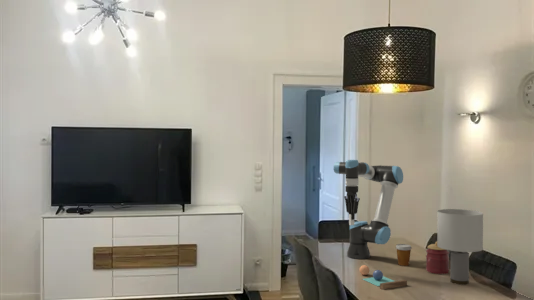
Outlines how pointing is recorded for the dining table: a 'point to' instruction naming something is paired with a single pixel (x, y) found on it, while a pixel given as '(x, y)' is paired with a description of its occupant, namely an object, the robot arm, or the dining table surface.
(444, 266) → the canister
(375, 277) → the object ball
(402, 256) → the disposable coffee cup
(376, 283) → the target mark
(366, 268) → the orange sphere
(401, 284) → the wall
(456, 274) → the lamp
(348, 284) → the dining table surface
